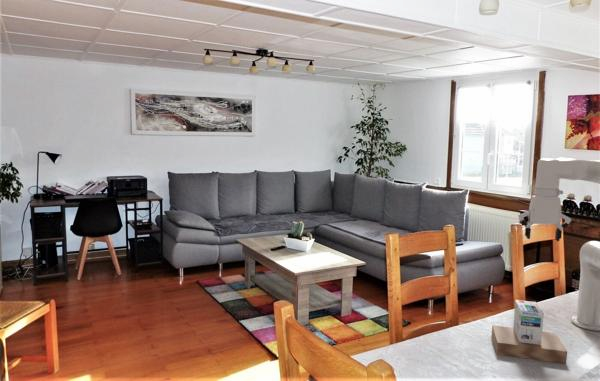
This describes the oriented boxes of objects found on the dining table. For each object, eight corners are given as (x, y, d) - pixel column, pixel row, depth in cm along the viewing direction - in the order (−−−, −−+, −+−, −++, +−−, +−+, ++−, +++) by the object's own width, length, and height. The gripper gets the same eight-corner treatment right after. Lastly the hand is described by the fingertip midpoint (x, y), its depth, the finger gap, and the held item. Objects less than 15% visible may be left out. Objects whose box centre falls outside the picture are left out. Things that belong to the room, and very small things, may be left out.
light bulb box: (541, 345, 147) (544, 313, 146) (518, 343, 149) (521, 310, 147) (533, 331, 157) (536, 301, 156) (512, 329, 159) (514, 299, 158)
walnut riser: (555, 344, 157) (556, 333, 157) (566, 363, 144) (567, 351, 143) (491, 336, 163) (492, 325, 162) (496, 354, 149) (497, 342, 149)
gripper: (570, 193, 169) (566, 239, 171) (518, 190, 174) (515, 235, 176) (576, 195, 162) (571, 243, 164) (522, 192, 167) (518, 239, 169)
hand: (542, 239), depth 170 cm, fingers open, 9 cm apart
